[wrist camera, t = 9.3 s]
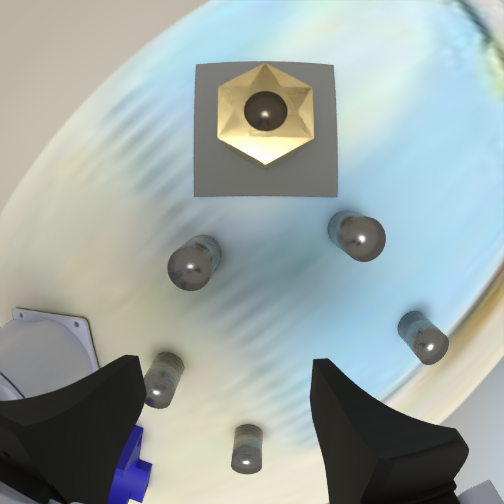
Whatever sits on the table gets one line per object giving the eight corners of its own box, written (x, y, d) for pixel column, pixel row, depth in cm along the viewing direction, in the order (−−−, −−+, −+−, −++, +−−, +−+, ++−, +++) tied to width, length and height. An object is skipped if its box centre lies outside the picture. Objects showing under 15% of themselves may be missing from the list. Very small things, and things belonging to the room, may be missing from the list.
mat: (195, 196, 19) (194, 196, 19) (197, 66, 17) (196, 64, 17) (335, 197, 19) (337, 197, 18) (332, 67, 17) (333, 65, 17)
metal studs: (170, 435, 24) (159, 465, 20) (138, 211, 19) (111, 218, 16) (392, 430, 23) (404, 458, 19) (438, 215, 19) (470, 222, 15)
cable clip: (148, 485, 26) (135, 521, 21) (113, 472, 26) (97, 506, 20) (158, 432, 24) (140, 477, 18) (115, 415, 24) (91, 456, 18)
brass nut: (229, 170, 18) (217, 164, 13) (229, 93, 17) (218, 63, 12) (300, 170, 18) (314, 165, 13) (299, 93, 17) (311, 64, 12)
